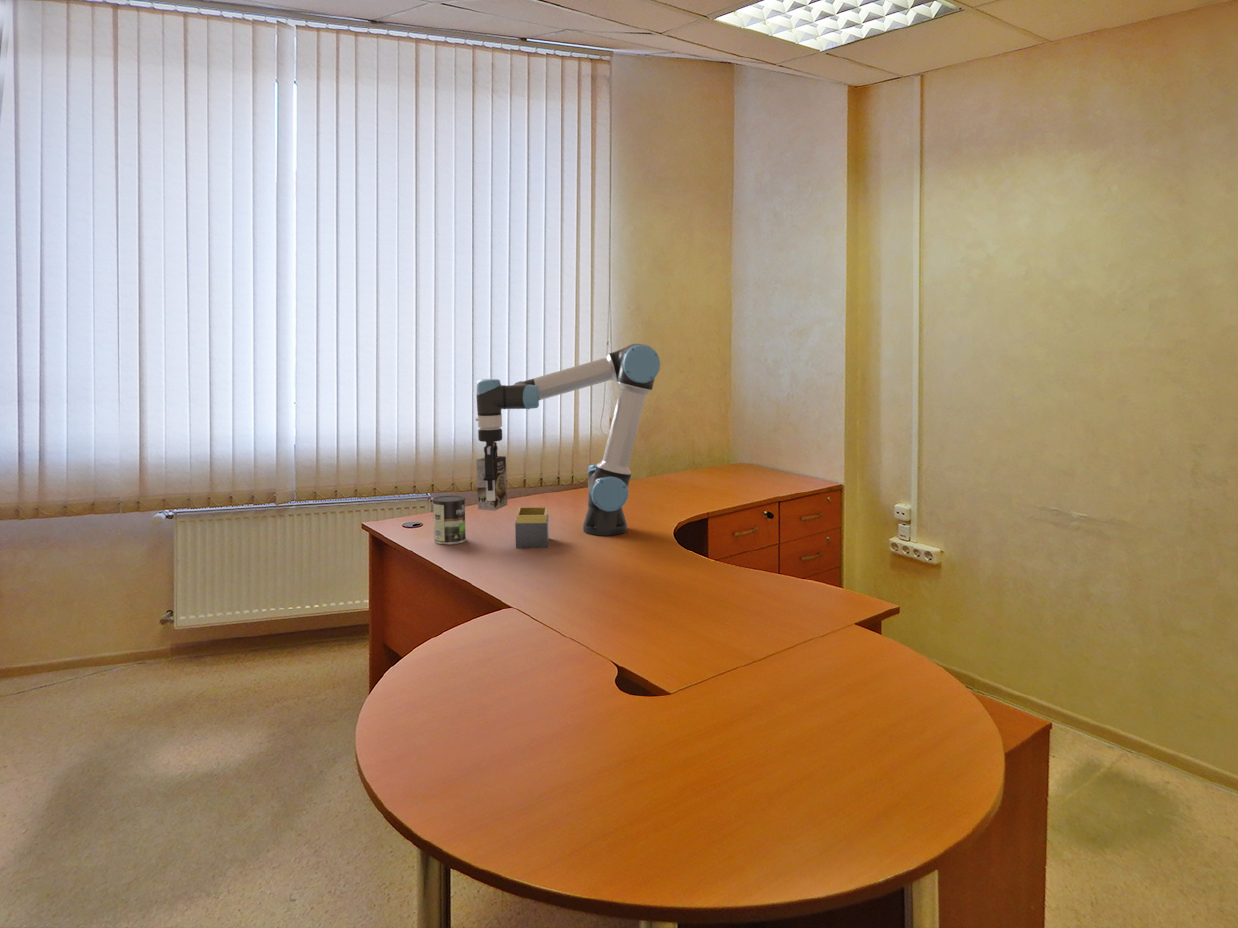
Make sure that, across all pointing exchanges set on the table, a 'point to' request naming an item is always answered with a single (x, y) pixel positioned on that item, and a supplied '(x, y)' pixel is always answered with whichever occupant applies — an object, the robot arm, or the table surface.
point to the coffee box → (500, 484)
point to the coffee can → (449, 519)
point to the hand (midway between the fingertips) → (492, 497)
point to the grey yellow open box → (532, 527)
